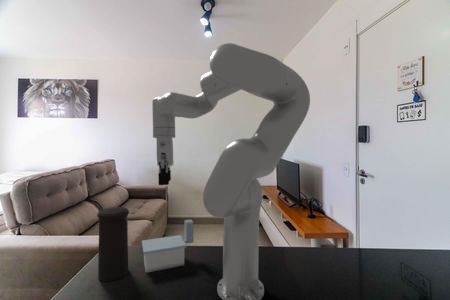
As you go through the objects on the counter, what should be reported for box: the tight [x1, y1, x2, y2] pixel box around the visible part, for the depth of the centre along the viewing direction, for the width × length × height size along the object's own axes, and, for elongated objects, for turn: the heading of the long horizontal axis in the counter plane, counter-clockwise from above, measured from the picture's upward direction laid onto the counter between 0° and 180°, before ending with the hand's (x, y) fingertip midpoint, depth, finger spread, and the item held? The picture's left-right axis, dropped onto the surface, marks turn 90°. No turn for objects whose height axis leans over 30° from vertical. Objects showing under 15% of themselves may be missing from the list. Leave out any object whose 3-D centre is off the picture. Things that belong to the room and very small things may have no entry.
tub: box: [143, 248, 185, 273], centre depth 78 cm, size 8×12×6 cm, turn 113°
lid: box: [141, 219, 194, 256], centre depth 79 cm, size 9×16×8 cm, turn 113°
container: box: [96, 206, 130, 282], centre depth 71 cm, size 9×9×20 cm
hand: (165, 182), depth 82 cm, fingers open, 9 cm apart
